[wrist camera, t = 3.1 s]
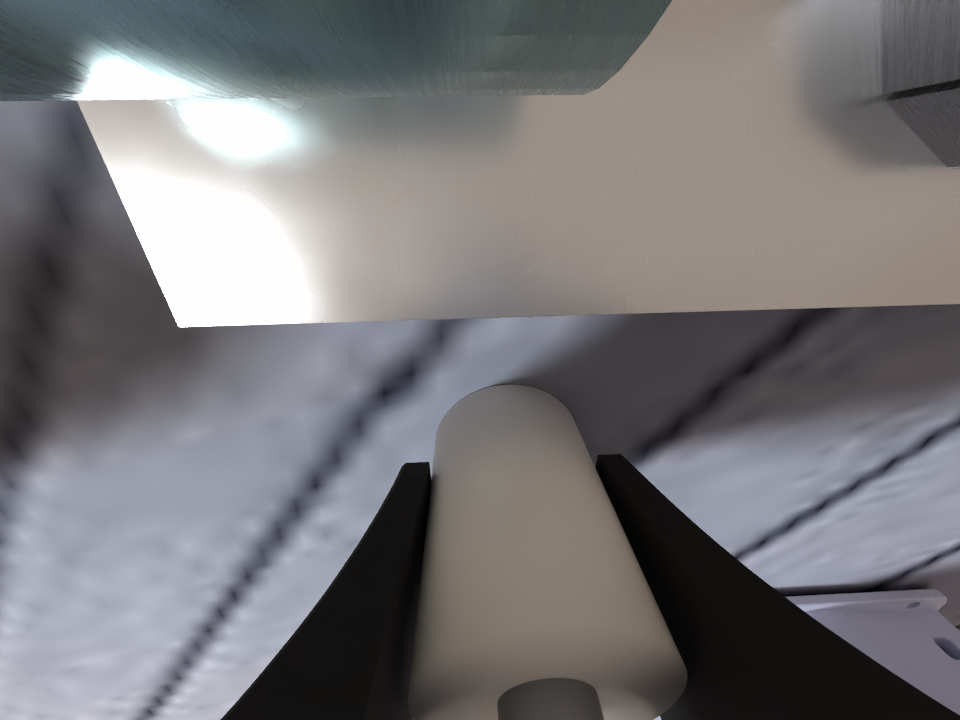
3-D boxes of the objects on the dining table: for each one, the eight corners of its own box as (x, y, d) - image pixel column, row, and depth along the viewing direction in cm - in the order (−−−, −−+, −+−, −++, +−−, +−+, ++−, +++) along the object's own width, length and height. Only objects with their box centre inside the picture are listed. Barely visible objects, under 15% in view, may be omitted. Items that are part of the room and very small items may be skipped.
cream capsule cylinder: (585, 381, 10) (788, 724, 4) (569, 491, 12) (682, 830, 6) (429, 387, 10) (370, 753, 4) (440, 497, 12) (414, 849, 6)
